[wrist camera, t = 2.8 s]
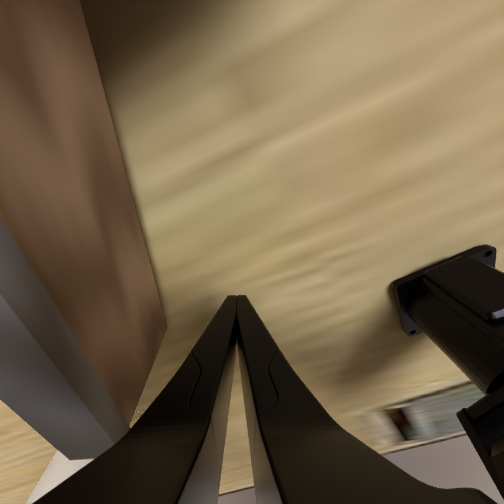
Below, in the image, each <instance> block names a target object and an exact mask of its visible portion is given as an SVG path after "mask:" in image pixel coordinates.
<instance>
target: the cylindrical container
mask: <svg viewBox="0 0 504 504" xmlns="http://www.w3.org/2000/svg"><path fill="white" fill-rule="evenodd" d="M92 460H94V459H83V460H69V459H68V458H67V457H65V456H64V455H63V454H62V453H61V452H60V451H59V450H57V451H56V453H55V454H54V456H53V458H52V460H51V461H50V463H49V465H48V466H47V468H46V470H45V471H44V473H43V475H42V476H41V478H40V480H39V482H38V483H37V485H36V487H35V488H34V490H33V492H32V493H31V495H30V497H29V498H28V500H27V502H26V504H32V503H34V502H35V501H36V500H38V499H39V498H41V497H42V496H43V495H45V494H46V493H48V492H49V491H50V490H52V489H53V488H54V487H56V486H57V485H59V484H60V483H61V482H63V481H64V480H66V479H67V478H68V477H70V476H71V475H73V474H74V473H75V472H77V471H78V470H80V469H81V468H82V467H84V466H85V465H87V464H88V463H89V462H91V461H92Z"/></svg>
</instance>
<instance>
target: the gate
mask: <svg viewBox="0 0 504 504" xmlns="http://www.w3.org/2000/svg"><path fill="white" fill-rule="evenodd" d="M166 329H167V324H166V320H165V317H164V313H163V309H162V305H161V302H160V298H159V294H158V290H157V287H156V283H155V279H154V275H153V272H152V268H151V264H150V261H149V257H148V253H147V249H146V246H145V242H144V238H143V234H142V231H141V227H140V223H139V220H138V216H137V212H136V208H135V205H134V201H133V197H132V193H131V190H130V186H129V182H128V179H127V175H126V171H125V167H124V164H123V160H122V156H121V152H120V149H119V145H118V141H117V137H116V134H115V130H114V126H113V123H112V119H111V115H110V111H109V108H108V104H107V100H106V96H105V93H104V89H103V85H102V82H101V78H100V74H99V70H98V67H97V63H96V59H95V55H94V52H93V48H92V44H91V41H90V37H89V33H88V29H87V26H86V22H85V18H84V14H83V11H82V7H81V3H80V0H0V399H1V400H2V401H3V402H4V403H5V404H6V405H7V406H9V407H10V408H11V409H12V410H13V411H14V412H15V413H16V414H18V415H19V416H20V417H21V418H22V419H23V420H24V421H26V422H27V423H28V424H29V425H30V426H31V427H32V428H34V429H35V430H36V431H37V432H38V433H39V434H40V435H42V436H43V437H44V438H45V439H46V440H47V441H48V442H49V443H51V444H52V445H53V446H54V447H55V448H56V449H57V450H59V451H60V452H61V453H62V454H63V455H64V456H65V457H67V458H68V459H69V460H83V459H95V458H96V457H98V456H99V455H101V454H102V453H103V452H105V451H106V450H108V449H109V448H110V447H112V446H113V445H114V444H115V443H116V442H118V441H119V440H120V439H121V438H122V437H123V436H124V435H125V434H126V433H127V432H128V431H129V430H130V429H131V428H130V427H129V425H130V422H131V420H132V417H133V414H134V412H135V409H136V407H137V404H138V402H139V399H140V396H141V394H142V391H143V389H144V386H145V383H146V381H147V378H148V376H149V373H150V371H151V368H152V365H153V363H154V360H155V358H156V355H157V352H158V350H159V347H160V345H161V342H162V340H163V337H164V334H165V332H166Z"/></svg>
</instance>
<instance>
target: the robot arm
mask: <svg viewBox="0 0 504 504" xmlns="http://www.w3.org/2000/svg"><path fill="white" fill-rule="evenodd" d="M495 261H496V248H495V247H492V246H490V245H486V244H485V245H481V246H479V247H477V248H474V249H472V250H469V251H467V252H465V253H462V254H460V255H457V256H455V257H453V258H450V259H448V260H445V261H443V262H441V263H438V264H436V265H433V266H431V267H429V268H426V269H424V270H421V271H419V272H417V273H414V274H412V275H409V276H407V277H405V278H402V279H400V280H398V281H396V282H395V283H394V284H393V290H394V294H395V298H396V303H397V307H398V311H399V315H400V319H401V323H402V327H403V331H404V332H405V333H406V334H407V335H408V336H414V335H417V334H419V333H422V332H424V333H425V334H426V335H427V336H428V337H429V338H430V339H431V340H432V341H433V342H434V343H435V344H436V345H437V346H438V347H439V348H440V349H441V350H442V351H443V352H444V353H445V354H446V355H447V356H448V357H449V358H450V359H451V360H452V361H453V362H454V363H455V364H456V366H457V367H458V368H459V369H460V370H461V371H462V372H463V373H464V374H465V375H466V376H467V377H468V378H469V379H470V380H471V381H472V382H473V383H474V384H475V385H476V386H477V387H478V388H479V389H480V390H481V391H482V392H483V393H484V394H485V395H486V396H484V397H483V398H481V399H480V400H478V401H477V402H476V403H474V404H473V405H471V406H470V407H468V408H463V409H461V410H460V411H458V412H457V413H456V415H457V417H458V419H459V421H460V422H461V424H462V426H463V428H464V430H465V431H466V433H467V435H468V437H469V439H470V440H471V442H472V444H473V445H474V447H475V449H476V451H477V452H478V455H479V456H480V458H481V460H482V462H483V463H484V465H485V467H486V469H487V471H488V473H489V474H490V476H491V478H492V480H493V482H494V483H495V485H496V487H497V489H498V490H499V492H500V494H501V496H502V498H503V499H504V272H501V271H499V270H497V269H495ZM237 346H238V355H239V363H240V371H241V379H242V388H243V396H244V404H245V412H246V421H247V429H248V437H249V445H250V454H251V462H252V470H253V478H254V487H255V495H256V503H257V504H497V503H496V502H495V501H493V500H492V499H491V498H490V497H488V496H487V495H486V494H484V493H483V492H482V491H480V490H478V489H475V488H452V489H442V488H437V487H433V486H430V485H428V484H426V483H423V482H421V481H419V480H417V479H416V478H414V477H412V476H410V475H409V474H407V473H406V472H404V471H403V470H402V469H400V468H399V467H397V466H396V465H395V464H393V463H392V462H390V461H389V460H387V459H386V458H384V457H383V456H382V455H380V454H379V453H377V452H376V451H374V450H373V449H371V448H370V447H369V446H367V445H366V444H364V443H363V442H361V441H360V440H358V439H357V438H356V437H354V436H353V435H351V434H350V433H348V432H347V431H346V430H344V429H343V428H342V427H341V426H340V425H339V424H338V423H336V422H335V421H334V419H333V418H332V417H331V416H330V415H329V414H328V413H327V412H326V410H325V409H324V408H323V407H322V405H321V404H320V403H319V402H318V400H317V399H316V398H315V397H314V395H313V394H312V393H311V392H310V390H309V389H308V388H307V387H306V385H305V384H304V383H303V382H302V380H301V379H300V378H299V377H298V375H297V374H296V373H295V371H294V370H293V369H292V367H291V366H290V364H289V363H288V361H287V360H286V358H285V357H284V355H283V354H282V352H281V350H280V349H279V347H278V346H277V344H276V343H275V341H274V339H273V338H272V336H271V335H270V333H269V331H268V330H267V328H266V327H265V325H264V324H263V322H262V320H261V319H260V317H259V316H258V314H257V312H256V311H255V309H254V308H253V306H252V304H251V303H250V301H249V300H248V298H247V296H246V295H238V296H236V295H229V296H227V298H226V299H225V301H224V302H223V304H222V305H221V307H220V308H219V310H218V311H217V313H216V314H215V316H214V317H213V319H212V320H211V322H210V323H209V325H208V326H207V328H206V329H205V331H204V332H203V334H202V335H201V337H200V338H199V340H198V341H197V343H196V345H195V346H194V348H193V349H192V351H191V353H189V355H188V356H187V358H186V360H185V361H184V362H183V364H182V365H181V367H180V368H179V370H178V371H177V372H176V374H175V375H174V376H173V378H172V379H171V380H170V381H169V383H168V384H167V385H166V387H165V388H164V389H163V390H162V391H161V393H160V394H159V395H158V396H157V398H156V399H155V400H154V401H153V402H152V404H151V405H150V406H149V407H148V409H147V410H146V411H145V412H144V413H143V415H142V416H141V417H140V418H139V420H138V421H137V422H136V423H135V424H134V425H133V427H132V428H131V429H130V430H129V431H128V432H127V433H126V434H125V435H124V436H123V437H122V438H121V439H120V440H119V441H118V442H116V443H115V444H114V445H113V446H112V447H110V448H109V449H108V450H106V451H105V452H103V453H102V454H101V455H99V456H98V457H96V458H95V459H94V460H92V461H91V462H89V463H88V464H87V465H85V466H84V467H82V468H81V469H80V470H78V471H77V472H75V473H74V474H73V475H71V476H70V477H68V478H67V479H66V480H64V481H63V482H61V483H60V484H59V485H57V486H56V487H54V488H53V489H52V490H50V491H49V492H48V493H46V494H45V495H43V496H42V497H41V498H39V499H38V500H36V501H35V502H34V503H32V504H217V502H218V494H219V486H220V478H221V476H220V475H221V470H222V461H223V453H224V445H225V437H226V429H227V421H228V413H229V405H230V397H231V389H232V381H233V372H234V364H235V356H236V348H237Z"/></svg>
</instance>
